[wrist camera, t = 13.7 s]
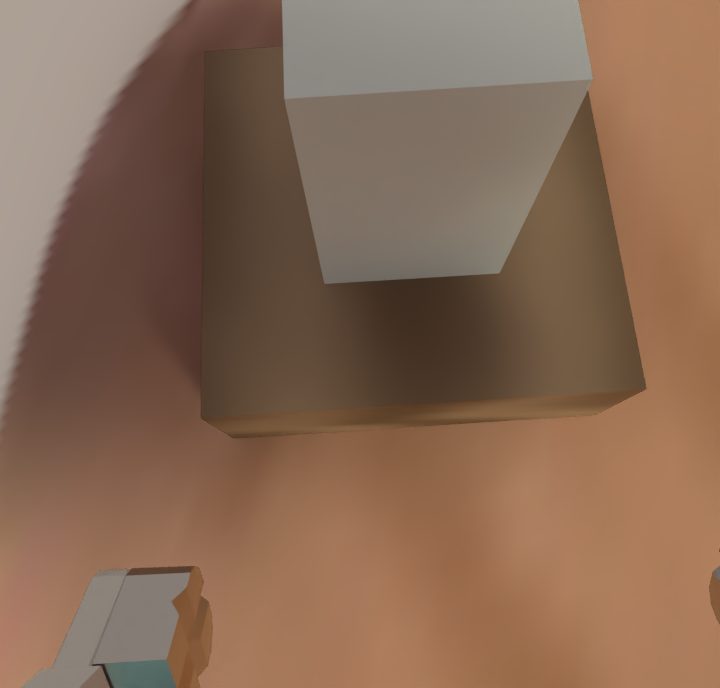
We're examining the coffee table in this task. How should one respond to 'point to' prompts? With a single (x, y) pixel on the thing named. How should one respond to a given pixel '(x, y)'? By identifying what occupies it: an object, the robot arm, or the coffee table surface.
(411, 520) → the coffee table surface
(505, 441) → the coffee table surface
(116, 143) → the coffee table surface
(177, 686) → the robot arm
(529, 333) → the walnut plinth
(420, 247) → the light grey block
